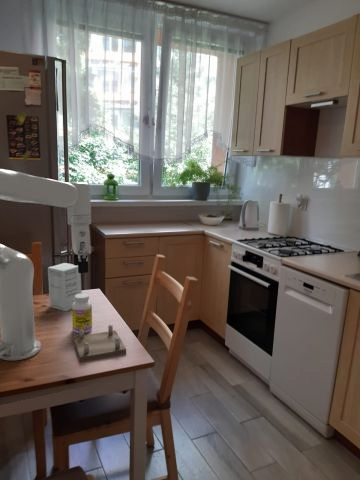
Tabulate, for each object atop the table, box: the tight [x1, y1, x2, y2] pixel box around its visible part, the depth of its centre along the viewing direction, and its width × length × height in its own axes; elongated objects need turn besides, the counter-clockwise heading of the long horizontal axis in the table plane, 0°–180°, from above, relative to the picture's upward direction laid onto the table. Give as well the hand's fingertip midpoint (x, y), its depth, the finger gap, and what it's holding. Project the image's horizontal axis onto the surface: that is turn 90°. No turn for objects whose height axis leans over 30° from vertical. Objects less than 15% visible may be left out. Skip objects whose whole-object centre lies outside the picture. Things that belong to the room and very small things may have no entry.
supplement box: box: [47, 262, 82, 312], centre depth 150 cm, size 10×9×17 cm
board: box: [73, 324, 127, 363], centre depth 118 cm, size 14×14×4 cm
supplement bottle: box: [71, 292, 93, 334], centre depth 129 cm, size 7×7×13 cm
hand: (80, 268), depth 126 cm, fingers open, 9 cm apart
